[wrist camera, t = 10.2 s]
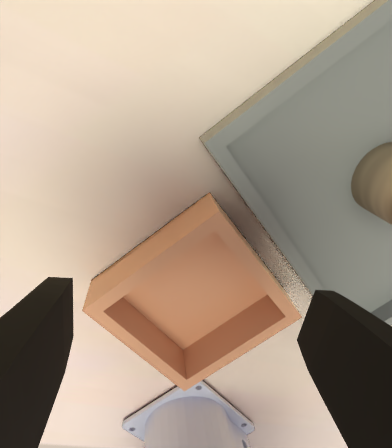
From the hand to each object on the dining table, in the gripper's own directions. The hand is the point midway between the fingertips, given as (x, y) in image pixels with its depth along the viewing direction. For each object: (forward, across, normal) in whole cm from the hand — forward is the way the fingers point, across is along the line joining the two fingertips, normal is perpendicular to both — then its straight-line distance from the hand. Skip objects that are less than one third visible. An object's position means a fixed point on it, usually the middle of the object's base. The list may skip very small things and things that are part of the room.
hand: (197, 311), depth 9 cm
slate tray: (+10, -13, -1) cm, 16 cm away
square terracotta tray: (+10, -2, +6) cm, 12 cm away
